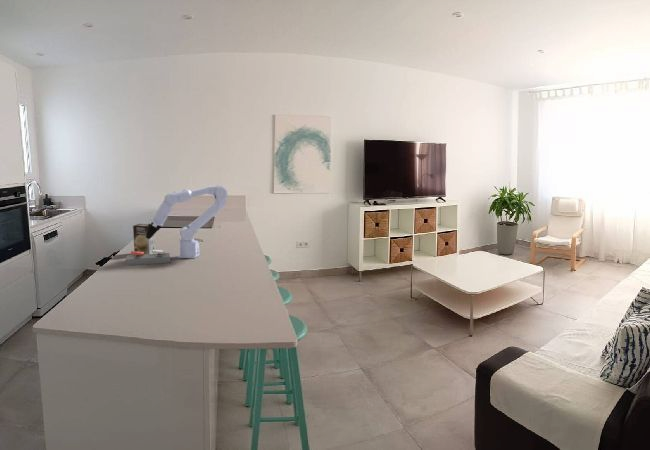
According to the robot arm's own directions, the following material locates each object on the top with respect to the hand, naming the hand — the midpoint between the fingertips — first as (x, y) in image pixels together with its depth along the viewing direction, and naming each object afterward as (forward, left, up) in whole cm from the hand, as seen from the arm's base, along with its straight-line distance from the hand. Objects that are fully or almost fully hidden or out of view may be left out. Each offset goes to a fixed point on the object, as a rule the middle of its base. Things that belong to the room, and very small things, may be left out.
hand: (148, 237), depth 207 cm
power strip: (-2, +6, -12) cm, 13 cm away
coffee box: (+8, -11, -12) cm, 18 cm away
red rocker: (+3, +6, -7) cm, 10 cm away
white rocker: (-6, +2, -7) cm, 9 cm away
